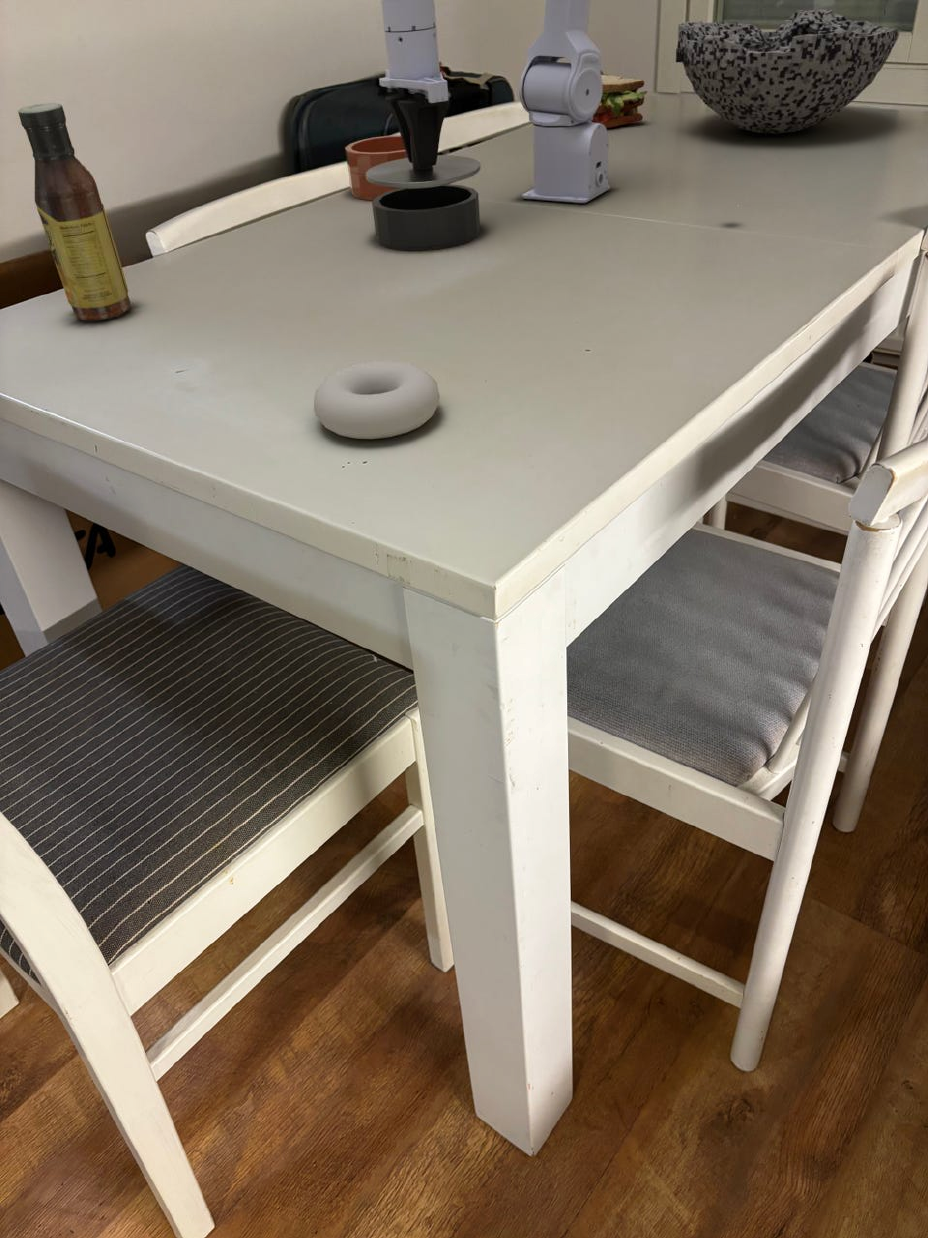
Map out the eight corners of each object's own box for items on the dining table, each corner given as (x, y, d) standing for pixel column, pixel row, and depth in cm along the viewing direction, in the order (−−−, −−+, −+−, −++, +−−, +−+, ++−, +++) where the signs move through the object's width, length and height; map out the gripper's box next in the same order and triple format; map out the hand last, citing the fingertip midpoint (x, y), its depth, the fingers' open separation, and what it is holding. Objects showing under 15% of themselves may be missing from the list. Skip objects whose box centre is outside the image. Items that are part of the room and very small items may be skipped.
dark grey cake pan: (498, 225, 118) (496, 187, 116) (443, 254, 110) (440, 214, 107) (414, 217, 124) (411, 181, 121) (357, 244, 116) (351, 206, 113)
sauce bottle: (85, 304, 104) (22, 101, 92) (141, 301, 104) (84, 96, 92) (63, 326, 99) (-6, 113, 87) (122, 323, 99) (60, 109, 87)
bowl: (779, 162, 134) (794, 38, 125) (634, 134, 156) (637, 27, 147) (925, 125, 146) (949, 10, 137) (771, 104, 168) (783, 3, 159)
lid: (501, 167, 114) (499, 124, 112) (440, 196, 105) (437, 150, 103) (409, 162, 121) (405, 120, 118) (343, 188, 112) (337, 144, 109)
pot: (450, 182, 138) (447, 136, 135) (403, 203, 130) (398, 155, 127) (383, 177, 144) (378, 133, 140) (334, 197, 136) (328, 151, 132)
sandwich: (531, 127, 165) (530, 74, 160) (579, 114, 171) (579, 63, 167) (604, 136, 155) (605, 80, 150) (651, 122, 161) (654, 68, 157)
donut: (351, 389, 81) (294, 439, 74) (345, 350, 79) (286, 397, 72) (459, 399, 78) (411, 453, 71) (457, 359, 76) (406, 409, 69)
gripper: (355, 28, 108) (370, 158, 116) (398, 38, 97) (412, 180, 106) (412, 20, 110) (424, 149, 118) (461, 29, 99) (470, 170, 107)
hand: (422, 163), depth 112 cm, fingers closed on lid, 2 cm apart
